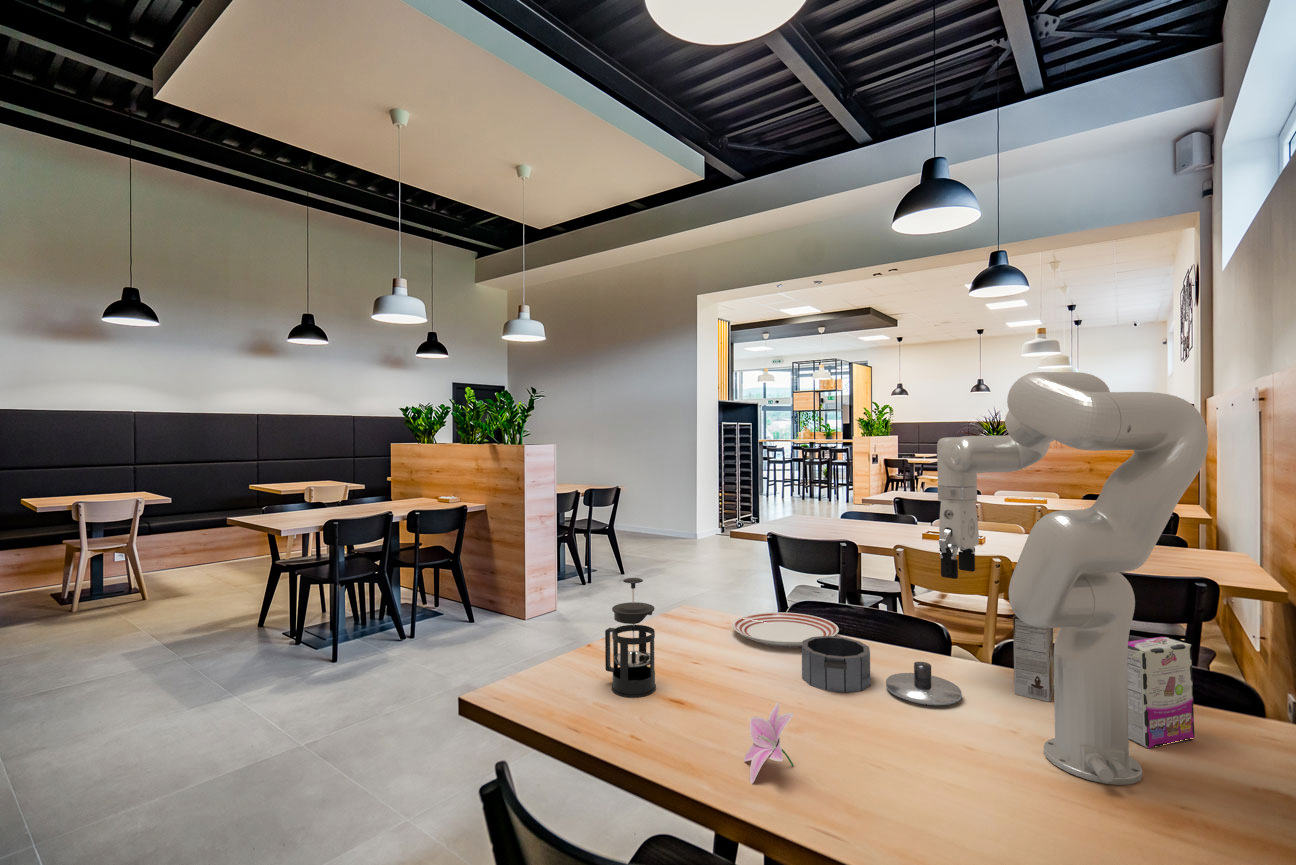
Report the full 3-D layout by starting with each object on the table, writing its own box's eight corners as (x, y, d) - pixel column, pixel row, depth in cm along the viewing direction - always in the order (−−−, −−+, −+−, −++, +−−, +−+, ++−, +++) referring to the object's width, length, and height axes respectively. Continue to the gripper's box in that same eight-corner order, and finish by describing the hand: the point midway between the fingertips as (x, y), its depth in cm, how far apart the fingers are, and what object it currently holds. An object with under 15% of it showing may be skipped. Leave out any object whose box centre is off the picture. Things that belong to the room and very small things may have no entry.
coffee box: (1018, 680, 129) (1017, 605, 129) (1054, 687, 125) (1053, 610, 125) (1013, 695, 122) (1012, 615, 122) (1051, 703, 118) (1050, 621, 118)
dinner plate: (713, 629, 166) (713, 617, 166) (793, 616, 177) (792, 605, 177) (774, 662, 141) (773, 648, 141) (862, 644, 153) (862, 631, 153)
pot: (872, 698, 120) (871, 663, 121) (800, 690, 125) (799, 656, 125) (868, 668, 136) (867, 637, 136) (804, 662, 141) (804, 632, 141)
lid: (968, 714, 114) (967, 681, 114) (888, 705, 118) (888, 673, 118) (954, 685, 127) (954, 656, 127) (883, 678, 131) (883, 649, 131)
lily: (755, 748, 104) (730, 704, 102) (819, 733, 99) (794, 686, 98) (748, 809, 93) (720, 760, 91) (820, 795, 88) (792, 743, 87)
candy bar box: (1163, 727, 108) (1162, 635, 108) (1195, 740, 103) (1194, 644, 103) (1116, 735, 105) (1115, 641, 105) (1147, 749, 100) (1145, 650, 100)
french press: (666, 684, 128) (665, 576, 129) (647, 701, 120) (646, 586, 120) (617, 675, 133) (616, 571, 134) (596, 691, 125) (595, 580, 125)
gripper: (960, 498, 121) (961, 583, 121) (990, 492, 133) (991, 570, 132) (922, 496, 126) (923, 577, 126) (954, 491, 138) (955, 565, 138)
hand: (958, 574), depth 129 cm, fingers open, 9 cm apart
